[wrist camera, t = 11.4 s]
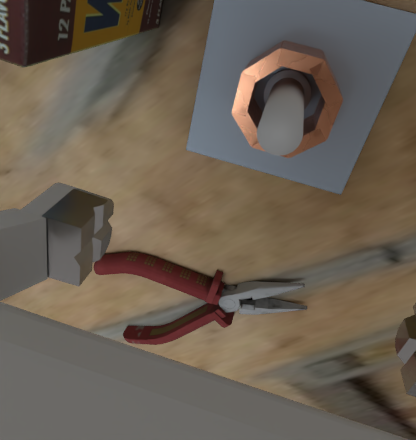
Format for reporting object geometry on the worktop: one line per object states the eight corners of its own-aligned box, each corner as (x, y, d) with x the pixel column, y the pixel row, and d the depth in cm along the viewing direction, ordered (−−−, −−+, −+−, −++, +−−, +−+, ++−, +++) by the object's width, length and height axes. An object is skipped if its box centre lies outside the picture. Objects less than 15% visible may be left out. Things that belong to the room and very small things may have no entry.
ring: (350, 57, 24) (356, 68, 21) (315, 146, 27) (316, 166, 24) (256, 32, 24) (249, 39, 22) (233, 123, 28) (224, 139, 25)
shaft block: (417, 14, 23) (476, 31, 15) (339, 185, 30) (351, 264, 22) (225, -35, 24) (182, -43, 16) (191, 143, 31) (147, 202, 22)
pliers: (311, 332, 39) (312, 353, 37) (132, 331, 45) (123, 348, 43) (299, 236, 34) (298, 253, 32) (98, 249, 40) (85, 264, 38)
